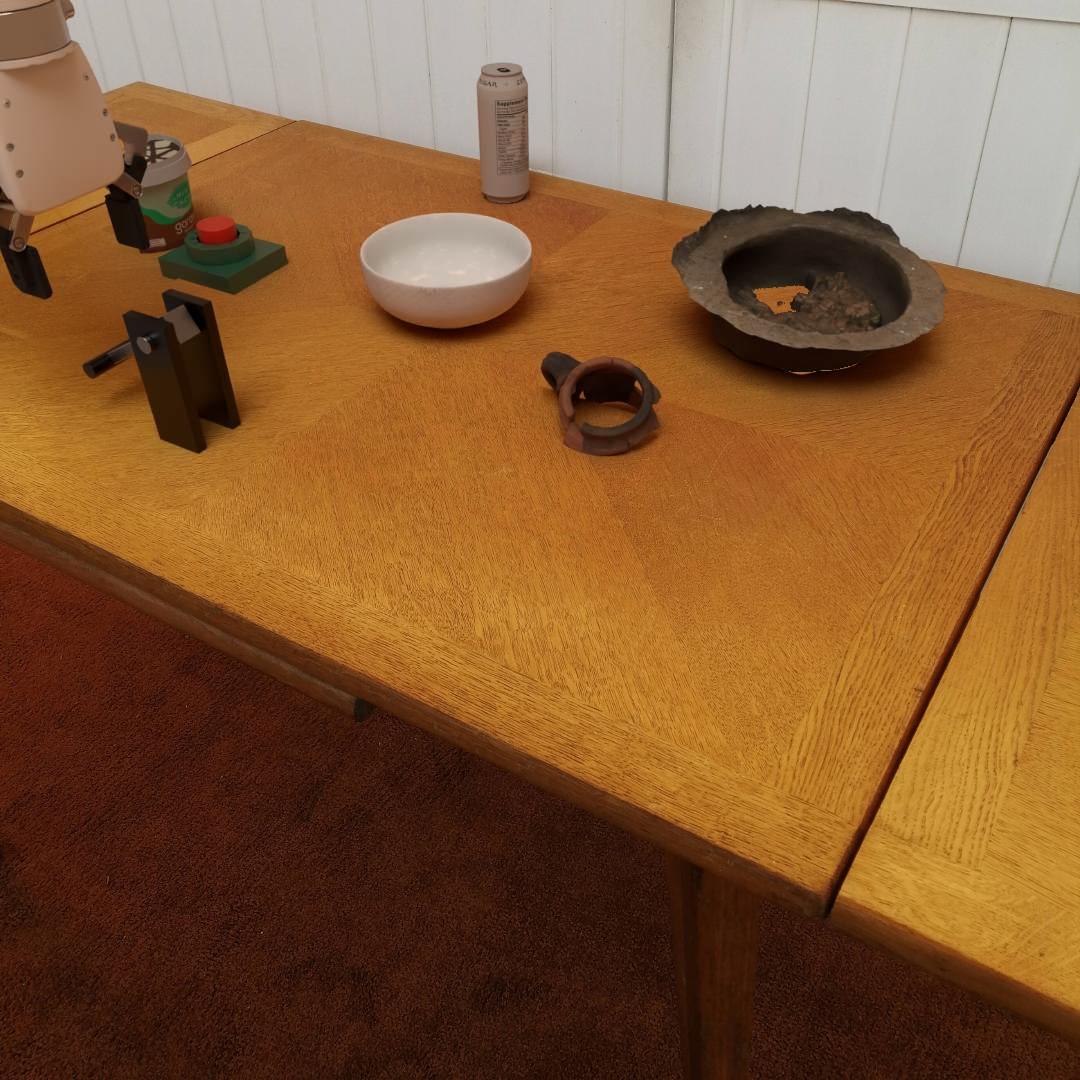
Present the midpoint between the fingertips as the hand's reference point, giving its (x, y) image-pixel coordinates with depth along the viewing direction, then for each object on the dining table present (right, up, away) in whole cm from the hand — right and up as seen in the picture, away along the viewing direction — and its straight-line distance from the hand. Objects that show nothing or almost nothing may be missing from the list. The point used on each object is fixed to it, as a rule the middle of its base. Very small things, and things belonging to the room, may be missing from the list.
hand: (87, 269), depth 79 cm
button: (+1, +11, +29) cm, 31 cm away
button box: (+1, +8, +31) cm, 32 cm away
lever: (+4, -6, +2) cm, 8 cm away
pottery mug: (+40, -12, +7) cm, 43 cm away
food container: (-7, +14, +38) cm, 41 cm away
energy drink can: (+31, +22, +47) cm, 61 cm away
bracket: (+7, -13, +6) cm, 16 cm away
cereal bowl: (+26, +2, +24) cm, 36 cm away
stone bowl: (+61, -2, +19) cm, 64 cm away
